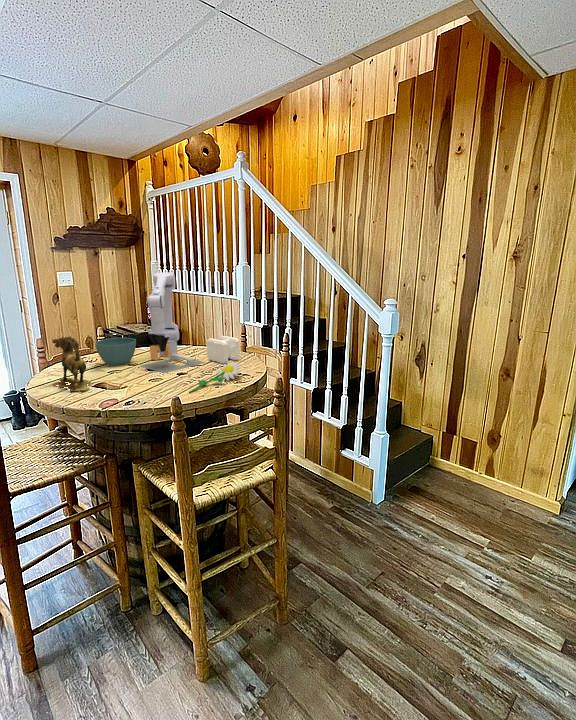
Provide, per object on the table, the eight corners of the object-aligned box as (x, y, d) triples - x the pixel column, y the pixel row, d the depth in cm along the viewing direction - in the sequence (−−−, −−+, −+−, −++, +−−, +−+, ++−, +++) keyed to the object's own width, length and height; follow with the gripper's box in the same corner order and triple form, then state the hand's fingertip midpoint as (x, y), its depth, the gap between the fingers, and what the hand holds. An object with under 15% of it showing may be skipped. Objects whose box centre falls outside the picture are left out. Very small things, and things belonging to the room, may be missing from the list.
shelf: (140, 368, 194) (139, 359, 193) (182, 359, 212) (182, 350, 211) (163, 376, 182) (162, 366, 181) (206, 365, 199) (206, 355, 198)
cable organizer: (241, 361, 207) (240, 338, 204) (224, 365, 200) (223, 342, 197) (222, 356, 217) (221, 335, 214) (206, 360, 210) (205, 338, 207)
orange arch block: (150, 358, 189) (149, 346, 188) (166, 355, 195) (164, 343, 193) (155, 360, 187) (154, 347, 185) (170, 356, 192) (169, 344, 191)
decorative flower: (202, 401, 157) (248, 372, 180) (199, 390, 155) (247, 362, 178) (179, 397, 163) (226, 370, 187) (176, 386, 162) (224, 360, 185)
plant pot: (133, 359, 213) (130, 336, 210) (142, 366, 198) (139, 342, 195) (95, 364, 203) (92, 340, 200) (102, 372, 189) (98, 346, 186)
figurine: (81, 376, 183) (75, 331, 178) (100, 389, 165) (93, 340, 160) (49, 382, 175) (41, 335, 170) (65, 396, 157) (57, 344, 152)
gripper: (141, 321, 188) (144, 350, 192) (158, 324, 179) (161, 354, 182) (155, 319, 193) (157, 347, 197) (172, 322, 184) (174, 351, 187)
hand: (160, 350), depth 190 cm, fingers closed on orange arch block, 4 cm apart
